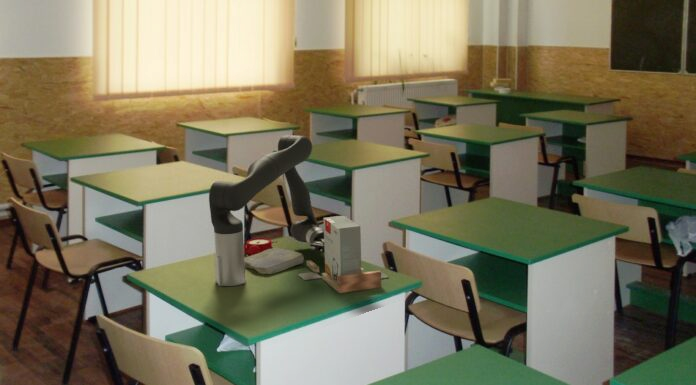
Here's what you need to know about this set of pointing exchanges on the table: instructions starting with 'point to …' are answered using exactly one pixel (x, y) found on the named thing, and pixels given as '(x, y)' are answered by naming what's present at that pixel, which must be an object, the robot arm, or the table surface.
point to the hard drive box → (341, 246)
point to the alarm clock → (257, 245)
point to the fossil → (273, 260)
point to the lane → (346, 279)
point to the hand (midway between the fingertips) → (336, 251)
